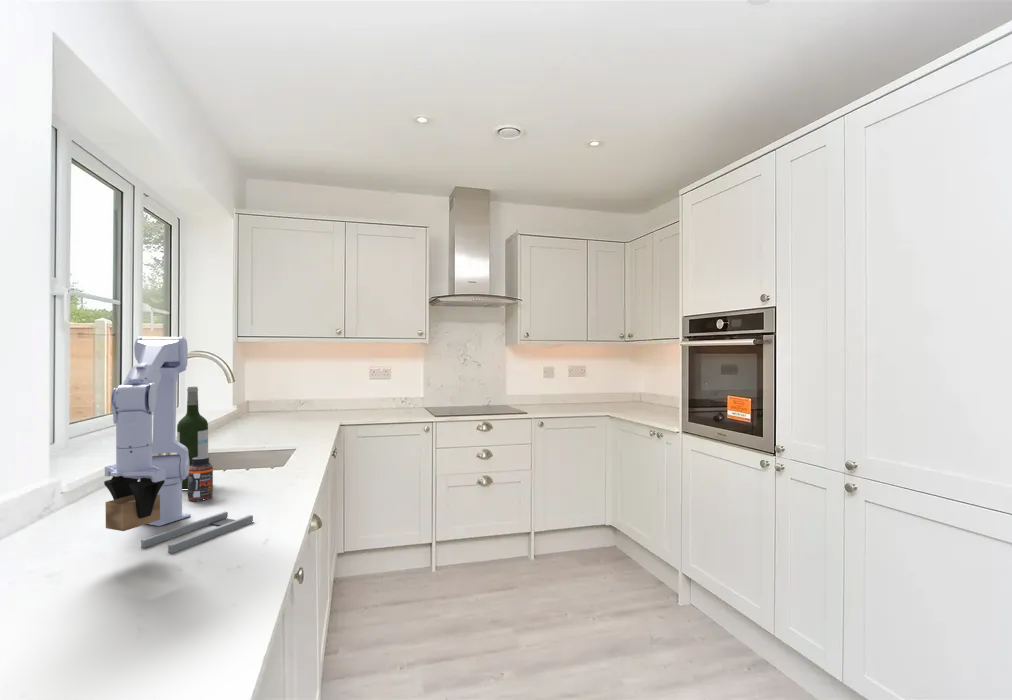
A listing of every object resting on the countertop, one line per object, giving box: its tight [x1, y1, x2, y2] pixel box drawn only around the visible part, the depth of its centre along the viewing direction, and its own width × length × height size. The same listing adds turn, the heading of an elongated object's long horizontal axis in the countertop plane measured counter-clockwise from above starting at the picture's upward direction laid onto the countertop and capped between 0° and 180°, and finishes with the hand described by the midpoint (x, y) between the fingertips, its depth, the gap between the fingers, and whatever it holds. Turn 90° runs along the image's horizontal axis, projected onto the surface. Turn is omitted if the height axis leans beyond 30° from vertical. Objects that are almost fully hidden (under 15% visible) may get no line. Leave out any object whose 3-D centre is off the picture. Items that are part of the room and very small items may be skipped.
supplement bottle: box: [187, 456, 214, 502], centre depth 141 cm, size 6×6×11 cm
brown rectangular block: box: [105, 494, 160, 532], centre depth 100 cm, size 5×7×5 cm
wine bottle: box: [176, 386, 209, 489], centre depth 153 cm, size 8×8×30 cm
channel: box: [140, 511, 254, 554], centre depth 114 cm, size 9×20×2 cm, turn 160°
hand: (134, 515), depth 100 cm, fingers closed on brown rectangular block, 5 cm apart
